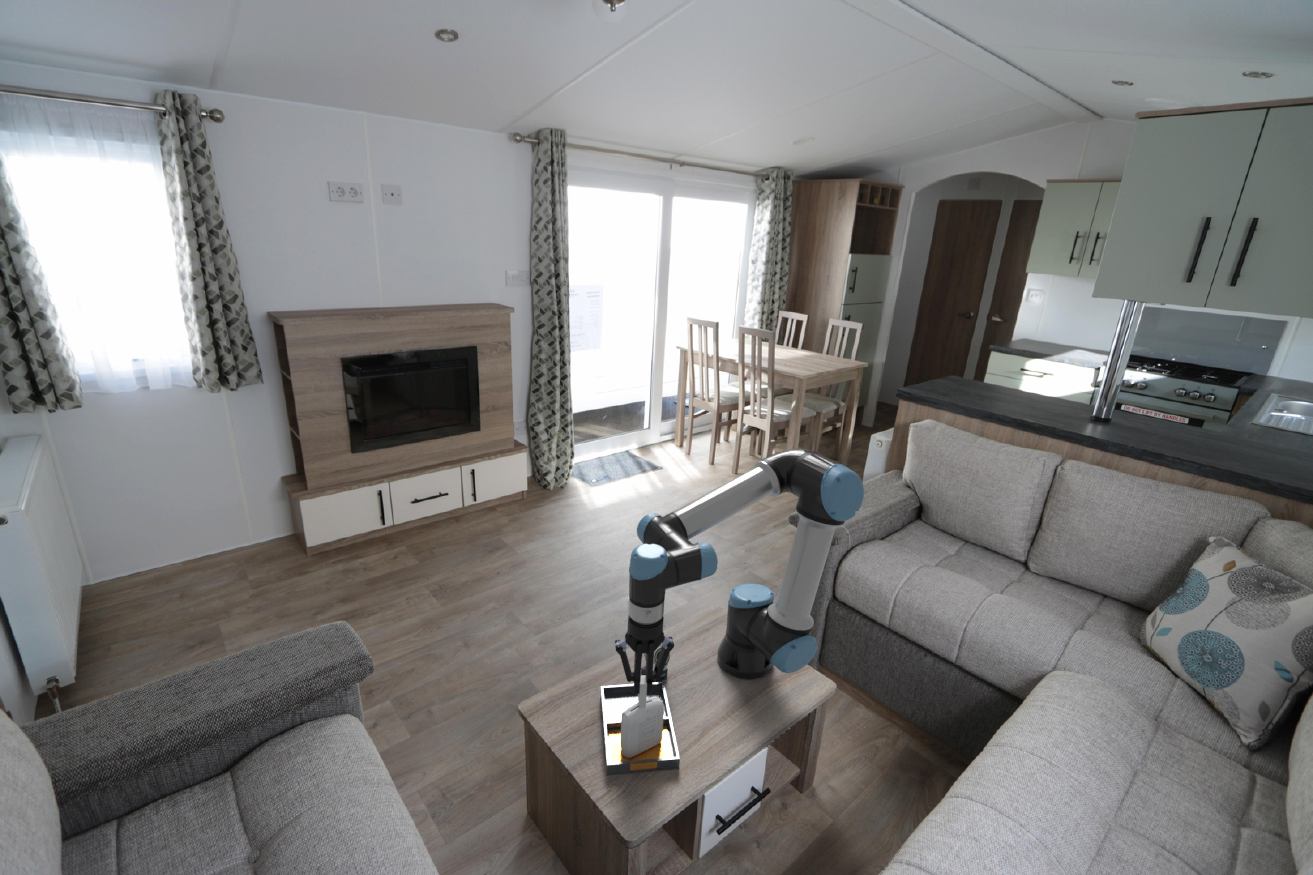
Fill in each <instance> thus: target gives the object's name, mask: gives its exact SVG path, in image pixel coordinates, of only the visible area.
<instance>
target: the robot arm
mask: <svg viewBox="0 0 1313 875" xmlns="http://www.w3.org/2000/svg"><path fill="white" fill-rule="evenodd" d="M864 487H865V486H864V483H863V480H862V479H861V477H860V476H859V474H858V473H857V472H855V471H854V470H852V469H850V468H849V467H848V466H846V465H844V464H841V463H839V462H837V461H835V460H833V459H831V458H828V457H826V456H824V455H822V454H820V453H818V452H817V451H814V450H811V449H808V448H793V449H787V450H783V451H781V452H780V451H779V452H776V453H774V454H771V455H769V456H767V457H765V458H763V459H760V460H758V461H756V462H755V464H754V466H753V468H752V469H750V470H748V471H747V472H745V473H742V474H741V475H739V476H737V477H734V478H733V479H731V480H729V481H727V482H726V483H724V484H722V485H720V486H718V487H716V488H715V489H713V490H711V491H708V492H707V493H705V494H703V495H701V496H699V497H697V498H696V499H693V500H692V501H689V502H688V503H686V504H684V505H683V506H681V507H679V508H677V509H674V510H672V511H671V512H670V513H667V514H665V515H663V516H662V515H661V514H658V513H648V514H645V515H644V516H643V517H642V518H641V519H640V520H639V521H638V524H637V526H636V535H637V538H638V539H639V540H640V542H641V543H642V544H639V545H637V546H635V548H633V550H632V551H631V554H630V559H629V566H628V567H629V568H628V572H629V580H628V582H629V584H628V587H629V588H628V607H627V609H628V610H627V613H628V616H627V631H626V633H625V635H624V638H622V639H621V640H620V639H616V640H614V646H615V647H614V648H615V652H616V653H617V654H618V655H619V656H620V660H621V663H622V666H623V671H624V674H625V678H626V681H627V683H630V682H633V684H634V693H635V694H638V703H639V708H643V707H646V695H647V693H650V692H651V688H652V684H653V682H652V681H653V680H655V679H656V680H659V679H660V678H661V675H662V672H663V669H664V667H665V664H666V661H667V658H668V655H669V653H670V654H671V651H672V650H673V649H674V647H675V644H674V643H675V642H674V640H673V637H672V636H665V633H664V618H665V616H664V614H665V599H666V598H665V597H666V590H669V589H672V588H674V587H679V586H682V585H686V584H690V583H693V582H697V581H701V580H703V579H705V578H708V577H711V576H713V575H715V573H716V572H717V570H718V562H719V561H718V555H717V552H716V550H715V549H714V547H713V545H711V544H710V543H709V542H708V541H703V542H696V543H693V542H692V541H690V539H693V538H694V537H697V536H698V535H700V534H702V533H703V532H705V531H707V530H709V529H711V528H713V527H714V526H716V525H718V524H720V523H722V522H723V521H725V520H727V519H729V518H731V517H732V516H734V515H736V514H738V513H740V512H742V511H744V510H745V509H747V508H749V507H751V506H752V505H754V504H756V503H758V502H760V501H761V500H763V499H765V498H767V497H773V498H774V497H777V496H779V495H781V494H785V493H790V494H793V495H794V496H795V497H798V500H797V502H796V506H795V512H796V513H797V515H798V517H799V520H798V523H797V527H796V531H795V533H794V536H793V537H794V538H793V541H792V545H791V548H790V551H789V556H788V559H787V563H786V566H785V568H784V573H783V576H782V581H781V582H780V583H781V584H780V587H779V591H778V594H777V598H776V602H774V601H775V596H774V591H772V589H770V588H769V587H768V586H765V585H763V584H759V583H752V582H751V583H750V582H749V583H742V584H739V585H737V586H735V587H734V588H732V589H731V590H730V593H729V600H728V601H727V604H728V606H727V617H726V626H725V628H726V629H725V635H724V636H723V639H722V640H721V641H720V644H719V645H718V649H717V657H716V658H717V663H718V665H719V667H720V668H721V669H722V670H723V671H724V672H725V673H726V674H728V675H730V676H732V677H734V678H737V679H741V680H747V681H748V680H751V681H752V680H757V679H762V678H763V677H765V676H766V675H768V673H770V671H771V669H772V666H774V667H775V668H776V669H778V670H779V671H780V672H781V673H785V674H792V673H796V672H798V671H800V670H802V669H803V668H804V667H806V666H807V665H809V663H810V662H811V660H813V658H814V657H815V655H816V653H817V651H818V642H817V639H816V637H814V635H812V630H813V628H814V623H815V622H814V618H813V617H812V615H811V612H812V608H813V606H814V602H815V598H816V595H817V592H818V588H819V586H820V581H821V578H822V576H823V572H824V569H825V565H826V562H827V559H828V556H829V552H830V550H831V549H830V548H831V545H832V541H833V539H834V536H835V532H836V529H838V528H840V527H842V526H844V525H845V522H846V521H849V520H851V519H852V518H854V517H855V516H856V512H859V510H860V509H861V508H862V505H863V501H864V497H865V496H864V495H865V488H864ZM661 644H662V647H661V650H660V653H659V656H658V659H657V662H656V665H655V667H654V671H653V658H654V651H655V650H656V649H657V648H658V647H659V646H660V645H661ZM627 645H628V646H627ZM627 647H629V648H630V649H631V651H633V652H634V661H633V662H634V664H633V667H634V668H633V671H632V669H631V665H630V662H629V658H628V654H627ZM644 653H646V660H645V665H646V675H641V667H642V661H643V655H644Z"/></svg>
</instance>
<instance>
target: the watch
mask: <svg viewBox="0 0 1313 875" xmlns="http://www.w3.org/2000/svg"><path fill="white" fill-rule="evenodd" d="M661 647H662V644H661V645H660V646H659V647H658V648H657V649H656V650H655V651H654V658H653V671H654V667H655V665H656V662H657V659H658V656H659V653H660V650H661ZM670 654H671V652H670V653H669V655H668V658H667V661H666V664H665V667H664V669H663V672H662V675H661V678H660V679H659V680H656V679H655V680H653V681H652V682H653V683H654V682H663V681H664V680H666V679H668V668H667V667H668V666H669V662H670V658H671V655H670ZM643 656H644V660H645V661H646V653H643ZM641 675H646V664H645V665H644V666H641Z"/></svg>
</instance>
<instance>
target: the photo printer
mask: <svg viewBox="0 0 1313 875" xmlns="http://www.w3.org/2000/svg"><path fill="white" fill-rule="evenodd" d="M663 718H664V706H663V703H662V701H661V700H660V699H659V697H652V698H648V699H646V707H643V708H639V703H638V702H637V703H635V704H634V705H632V706H630V707H629V708H627V709H626V710H625V711H624V712H623V713H622V716H621V741H620V747H621V753H622V754H623V755H624V756H625V757H628V758H631V757H633V756H636V755H638V754H640V753H642V752H644V751H646V750H648V749H650V748H652V747H654V746H656V745H658V744H659V743H660V742H661V741H662V732H663Z"/></svg>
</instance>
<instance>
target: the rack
mask: <svg viewBox="0 0 1313 875" xmlns="http://www.w3.org/2000/svg"><path fill="white" fill-rule="evenodd" d="M665 687H666V686H665V682H664V681H660V682H654V683H653V684H652V688H651V692H650V693H647V695H646V699H648V698H652V697H659V699H660V700H661V701H662V703H663V706H664V718H663V732H662V741H661V742H660V743H659V744H658V745H656V746H654V747H652V748H650V749H648V750H646V751H644V752H642V753H640V754H638V755H636V756H633V757H631V758H628V757H625V756H624V755H623V754H622V753H621V747H620V741H621V716H622V713H623V712H624V711H625V710H626V709H627V708H629V707H630V706H632V705H634V704H635V703H637V702H638V694H635V693H634V683H629V684H628V683H627V684H614V685H613V684H611V685H601V686H600V702H601V704H600V705H601V715H602V716H601V717H602V728H603V740H604V741H603V742H604V753H605V754H604V755H605V767H606V776H617V775H626V774H636V773H637V774H638V773H649V772H657V771H658V772H659V771H670V770H671V771H672V770H680V764H681V763H680V762H681V761H680V760H681V758H680V753H679V748H678V743H677V738H676V735H675V734H676V733H675V729H674V725H673V720H672V714H671V710H670V705H669V700H668V696H667V691H666V688H665Z"/></svg>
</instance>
